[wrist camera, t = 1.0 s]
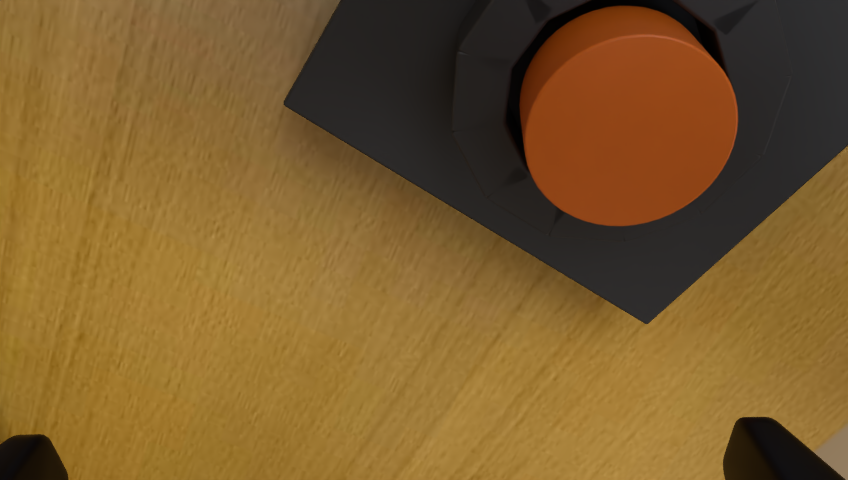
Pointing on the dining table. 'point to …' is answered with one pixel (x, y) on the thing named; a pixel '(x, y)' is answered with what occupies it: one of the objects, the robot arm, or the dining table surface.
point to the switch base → (502, 132)
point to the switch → (625, 117)
